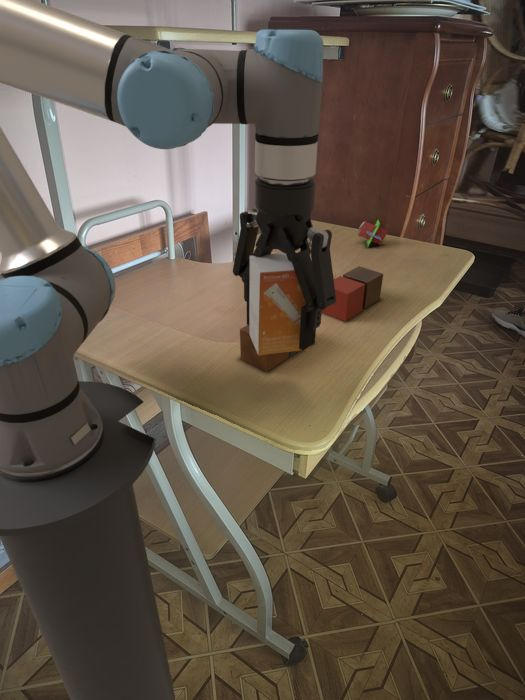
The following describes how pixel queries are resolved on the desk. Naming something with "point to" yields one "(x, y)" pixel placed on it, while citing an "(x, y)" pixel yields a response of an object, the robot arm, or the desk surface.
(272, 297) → the small box
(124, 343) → the desk surface
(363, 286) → the cube
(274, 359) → the cube
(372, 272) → the cube
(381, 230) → the geometric puzzle
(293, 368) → the desk surface
